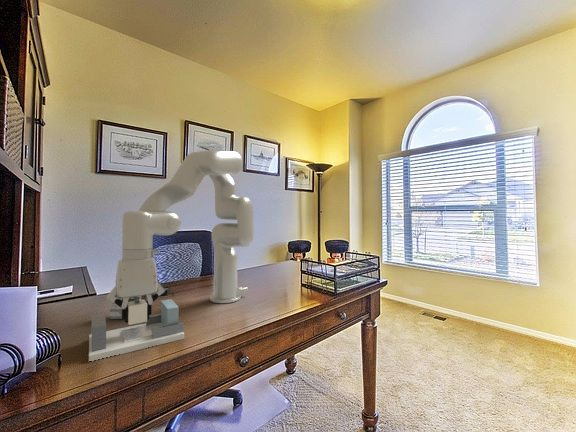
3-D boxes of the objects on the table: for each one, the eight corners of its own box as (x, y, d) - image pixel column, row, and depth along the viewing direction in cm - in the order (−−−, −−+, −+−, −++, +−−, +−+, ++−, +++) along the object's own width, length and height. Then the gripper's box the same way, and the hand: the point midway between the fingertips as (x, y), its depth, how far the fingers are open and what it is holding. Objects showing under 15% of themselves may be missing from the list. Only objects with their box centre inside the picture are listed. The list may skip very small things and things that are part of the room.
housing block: (144, 316, 81) (144, 294, 81) (147, 321, 77) (147, 298, 77) (126, 319, 78) (127, 296, 78) (128, 325, 74) (128, 301, 74)
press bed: (173, 319, 89) (173, 300, 89) (183, 331, 79) (183, 311, 79) (91, 335, 76) (91, 314, 76) (91, 353, 67) (91, 328, 67)
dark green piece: (148, 290, 128) (149, 278, 128) (183, 289, 131) (183, 277, 131) (137, 300, 113) (137, 287, 113) (176, 299, 116) (176, 286, 116)
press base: (172, 322, 90) (172, 317, 90) (184, 338, 78) (184, 333, 78) (89, 339, 77) (89, 334, 77) (88, 362, 66) (88, 355, 66)
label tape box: (108, 319, 92) (108, 282, 92) (115, 315, 96) (115, 279, 96) (136, 319, 93) (136, 282, 92) (141, 314, 97) (141, 279, 96)
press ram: (171, 320, 87) (171, 299, 87) (178, 330, 80) (178, 307, 80) (160, 322, 85) (161, 300, 85) (167, 332, 78) (167, 308, 78)
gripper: (166, 251, 85) (166, 310, 85) (100, 255, 76) (100, 321, 76) (172, 254, 79) (171, 317, 79) (101, 259, 70) (100, 331, 70)
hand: (136, 319), depth 77 cm, fingers closed on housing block, 4 cm apart
